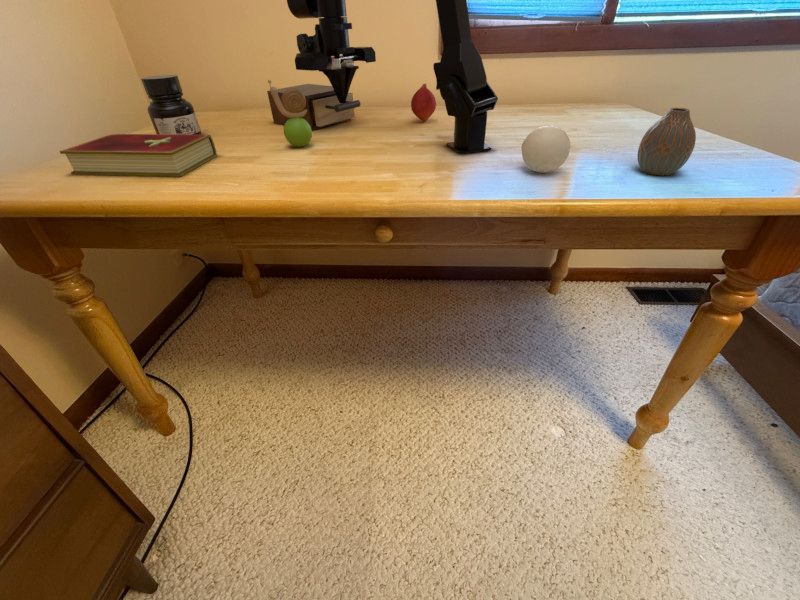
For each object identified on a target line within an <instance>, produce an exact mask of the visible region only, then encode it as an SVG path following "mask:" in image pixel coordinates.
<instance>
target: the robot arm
mask: <svg viewBox="0 0 800 600" xmlns="http://www.w3.org/2000/svg"><path fill="white" fill-rule="evenodd" d="M286 4H287V7H288V9H289V12H290V13H291V15H292V16H293V17H295V18H296V19H301V20H302V19H305V20H306V19H318V23H316V24H314V34H313V35H308V33H299V34H297V35H296V47H297V49H298V52H299V53H298V52H297V53H296V54H295V57H294V65H295V70H297V71H310V72H311V71H312V72H314V71H315V72H316V71H318V72H319V73H320V72H321V73H323V74H324V75H325V76H326V78H327V79H328V81H329V83H330V86H332V87H333V89H334V92H335V94H336V96H337V98H338V101H339V103H345V101H346V98H347V95H348V93H350V92H349V91H350V88H351V84H352V83H353V80H354V77H355V75H356V72H357V70H359V68H360V66H359V65H355V62H365V63H366V64H369V63H375V62H377V58H376V51H375V49H374V48H373V47H372V46H350V35H349V30H353V24H352V23H353V22H348V16H347V4H346V0H286ZM435 4H436V11H437V17H438V18H437V19H438V24H439V31H440V37H441V42H442V51H441V57H440V61H438V62H437V61H436V62H433V65H432V67H433V72H434V76H435V80H436V86H435V88H436V89H435V90H436V91H438V90H439V94H440V97H441V98H442V100H443V101H444V105H445V109H446V114H447V116H448V117H453V118H454V129H453V141H450V142H446V147H448V148H450V149H451V150H453V151H454V152H456V153H457V154H460V155H463V154H471V153H472V154H473V153H479V152H487V151H492V148H493V147H492V146H490V145H489V144H487V143H485V142H486V133H487V123H488V122H487V121H488V112H489V111H493V110H494V109H495V108H496V105H497V103H498V100H499V97H498V96H497V94H496V93H495V91H494V90H493V88H492V87H491V85H490V84H489V82H488V79H487V73H486V70H485V66H484V62H483V58H482V56H481V54H480V52H479V51H478V48H477V46H476V45H475V43H474V42H473V39H472V31H471V25H470V17H469V9H468V1H467V0H435Z"/></svg>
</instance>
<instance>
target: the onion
mask: <svg viewBox="0 0 800 600" xmlns="http://www.w3.org/2000/svg"><path fill="white" fill-rule="evenodd" d="M410 107H411V112H412V113H413V114H414V115H415V117H416V118H417V119H419V120H420V121H421V122H426V121H428V119H429V118H430V117H431V116H432V115H433V114H434V113H435V111H436V108H437V100H436V97H435V95H434V94H433V92H432V91H431V89H429V88H428V86H427V83H423V84H422V85H421V87H419V88H418V89H417V91H415V93H414V94H413V96H412V97H411V101H410Z"/></svg>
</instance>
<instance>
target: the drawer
mask: <svg viewBox="0 0 800 600" xmlns="http://www.w3.org/2000/svg"><path fill="white" fill-rule="evenodd" d="M353 94H354V93H353V92H348V95H347V98H346V101H345V103H339V101H338V98H337V96H336V94H333V95H328V96H323V97H318V98H314V99H310V103H311V110H312V116H313V123H316V126H319V127H320V126H324V125H328V124H332V123H335V122H339V121H343V120H346V119H350V120H351V119H353V118H355V117H356V115H355V109H356V108H359V107H361V101H360V100H359V99H356V100H354V95H353Z"/></svg>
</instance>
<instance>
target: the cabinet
mask: <svg viewBox="0 0 800 600" xmlns="http://www.w3.org/2000/svg"><path fill="white" fill-rule="evenodd" d="M289 88H296V89H298V90H300V91H301V92H302V93H303V94H304V96H305V99H306V106H305V108H304V109H303V110H307V113H306V114H305V115H304V116H303V117H301V118H303V119H305V120H306V121H307V122H308V123H309V125H310V127H311V129H312V131H314V130H318V129H321V128H325V127H330V126H333V125H336V124H340V123H343V122H344V123H345V122H347V121H351V118H350V119H346V120H343V121H339V122H335V123H332V124H328V125H324V126H320V127H319V126H316V123H313V116H312V110H311V103H310V99H314V98H318V97H323V96H328V95H333V94H335V92H334V89H333V87H332V85H323V84H313V83H305V84H300V85H293V86H288V87H282V88H277V90H278V96H279V98H280V100H281V99H282V95H283V93H284V92H285V91H286V90H287V89H289ZM266 94H267V97H268V102H269V107H270V111H271V115H272V120H273V123H274V124H278V125H283V126H284V125H285V123H286V122H287V121H288V120H289V119H290V118H288V117H286V116H284V115H283V114H281V112H280V111H279V110H278V108H277V106H276V104H275V101H274V99H273V96H272V94H271V91H270V90H267V91H266Z"/></svg>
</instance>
